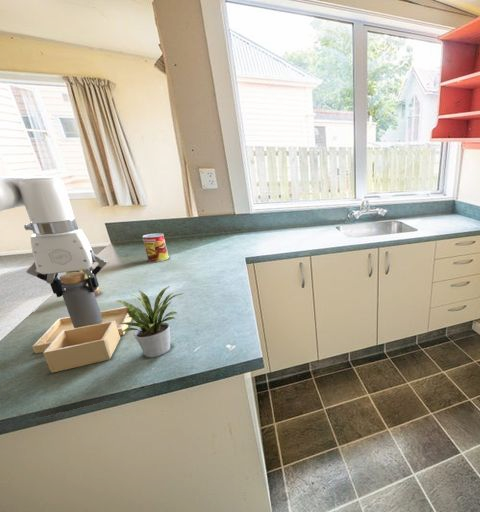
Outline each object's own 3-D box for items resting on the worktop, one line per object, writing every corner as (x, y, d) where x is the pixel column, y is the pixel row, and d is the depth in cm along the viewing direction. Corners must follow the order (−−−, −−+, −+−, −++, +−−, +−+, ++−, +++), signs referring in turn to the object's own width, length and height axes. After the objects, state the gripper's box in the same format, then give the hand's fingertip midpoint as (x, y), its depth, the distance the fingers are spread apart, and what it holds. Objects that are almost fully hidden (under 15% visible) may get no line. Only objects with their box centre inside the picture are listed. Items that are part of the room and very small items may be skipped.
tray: (35, 353, 73) (32, 346, 73) (60, 325, 86) (58, 318, 85) (123, 335, 81) (121, 328, 81) (135, 311, 94) (133, 305, 93)
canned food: (144, 261, 139) (138, 236, 136) (160, 256, 146) (155, 232, 143) (156, 262, 137) (150, 237, 133) (172, 257, 144) (167, 234, 141)
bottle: (69, 327, 81) (50, 277, 77) (94, 317, 86) (79, 269, 82) (82, 331, 79) (64, 280, 75) (107, 321, 85) (92, 272, 80)
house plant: (198, 328, 85) (186, 275, 80) (195, 355, 73) (181, 295, 68) (135, 341, 79) (119, 285, 73) (121, 373, 67) (100, 309, 62)
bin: (51, 373, 67) (42, 352, 65) (68, 348, 75) (62, 330, 74) (110, 359, 72) (103, 340, 70) (120, 338, 80) (115, 320, 78)
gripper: (-4, 234, 67) (25, 305, 73) (96, 227, 75) (115, 291, 81) (14, 227, 73) (39, 293, 79) (105, 221, 81) (122, 282, 87)
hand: (77, 292), depth 80 cm, fingers closed on bottle, 5 cm apart
